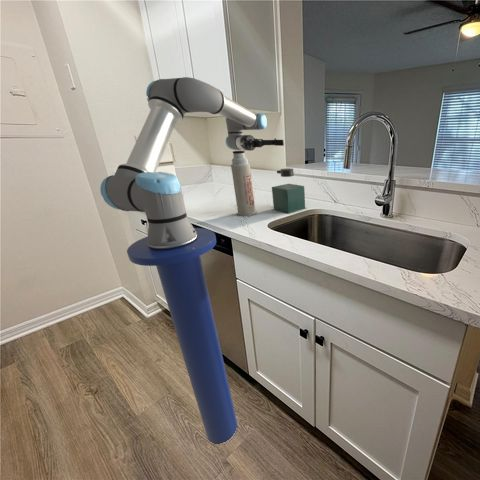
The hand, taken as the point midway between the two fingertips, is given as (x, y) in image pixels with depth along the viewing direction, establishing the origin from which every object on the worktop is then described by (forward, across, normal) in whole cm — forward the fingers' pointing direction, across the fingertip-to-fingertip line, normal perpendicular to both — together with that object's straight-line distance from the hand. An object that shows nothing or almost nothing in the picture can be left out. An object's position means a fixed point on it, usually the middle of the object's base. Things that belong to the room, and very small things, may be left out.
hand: (272, 143), depth 122 cm
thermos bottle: (-1, +18, -30) cm, 35 cm away
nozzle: (+7, 0, -14) cm, 16 cm away
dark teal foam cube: (+9, 0, -30) cm, 32 cm away
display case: (-65, +31, -30) cm, 78 cm away
